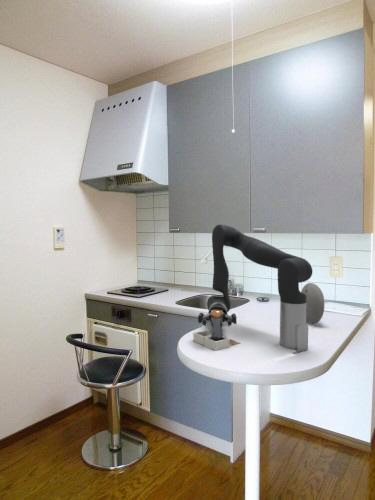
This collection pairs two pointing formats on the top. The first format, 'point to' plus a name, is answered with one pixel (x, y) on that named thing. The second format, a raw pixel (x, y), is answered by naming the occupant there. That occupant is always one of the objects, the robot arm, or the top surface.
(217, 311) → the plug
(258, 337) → the top surface
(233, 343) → the board
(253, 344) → the top surface
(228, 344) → the brass-tag socket
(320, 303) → the grey round disc
